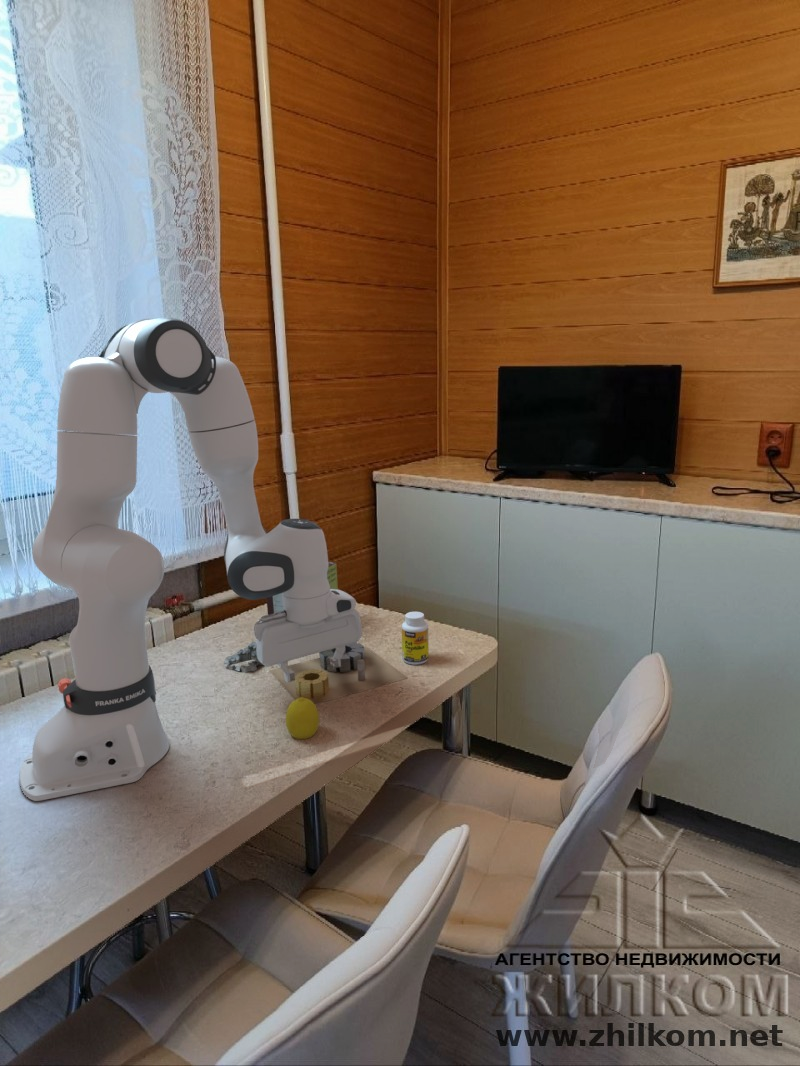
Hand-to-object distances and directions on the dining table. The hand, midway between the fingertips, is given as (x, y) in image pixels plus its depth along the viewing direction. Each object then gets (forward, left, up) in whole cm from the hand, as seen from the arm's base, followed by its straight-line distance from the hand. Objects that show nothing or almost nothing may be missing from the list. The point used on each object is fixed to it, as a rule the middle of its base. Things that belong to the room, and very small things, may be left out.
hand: (313, 673), depth 133 cm
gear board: (+6, +3, -5) cm, 9 cm away
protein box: (+10, +30, -5) cm, 32 cm away
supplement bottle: (+24, +3, -5) cm, 25 cm away
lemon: (-8, -14, -5) cm, 16 cm away
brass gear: (-1, -1, -3) cm, 3 cm away
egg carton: (-6, +19, -5) cm, 20 cm away
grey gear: (+9, +7, -3) cm, 12 cm away
